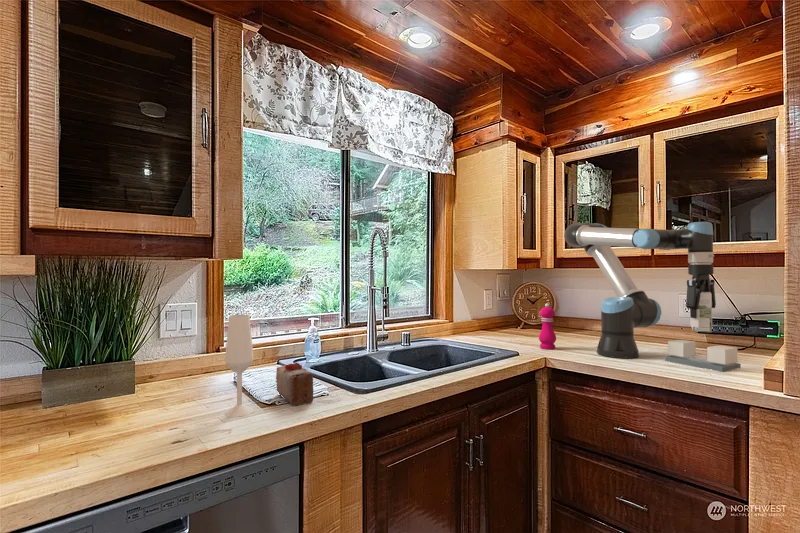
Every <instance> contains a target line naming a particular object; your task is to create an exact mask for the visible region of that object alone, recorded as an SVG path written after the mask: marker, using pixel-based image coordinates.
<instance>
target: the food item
mask: <svg viewBox="0 0 800 533" xmlns="http://www.w3.org/2000/svg"><path fill="white" fill-rule="evenodd" d="M302 365H303V363H299V362H295V363H289V364H284V365H281V366H278V367H276V373H275V374H276V376H275V383H276V392H277V391H278V392H279V394H280V395H282V396H283V397H284V398H285V399H284V398H283V399H284V400H285V401H286V402H288V403H290V404H291V405H292V406H293V407H294V406H295V407H297V406H302V405H306V404H307V405H308V404H312V403H313V401H314V374H313V373H311V372H309V371H307V368H303V366H302Z"/></svg>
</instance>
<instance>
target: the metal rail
mask: <svg viewBox="0 0 800 533" xmlns="http://www.w3.org/2000/svg"><path fill="white" fill-rule="evenodd" d="M670 356H674V357H679V358H685V359H690V360H696V361H701V362H707V363H712V364H718V365H723V366H731V365H735V363H736V362H735V363H730V364H720V363H715V362H709V361H707V356H702V355H701V356H700V355H692V356H686V357H681V356H675V355H670Z"/></svg>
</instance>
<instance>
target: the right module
mask: <svg viewBox="0 0 800 533" xmlns="http://www.w3.org/2000/svg"><path fill="white" fill-rule="evenodd" d="M706 350H707V351H706V353H707V354H706V357H707V361H709V362H715V363H720V364H730V363H739V362H738V359H739V358H738V357H739V356H738V347H734V346H728V345H720V344H719V345H714V346H708V347H707V349H706Z"/></svg>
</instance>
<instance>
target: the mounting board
mask: <svg viewBox="0 0 800 533" xmlns="http://www.w3.org/2000/svg"><path fill="white" fill-rule="evenodd" d="M664 358H665V359H664V362H669V361H670V362H671V363H674V362H675V364H680V365H686V366H691V367H695V368H700V369H705V368H706V369H707V370H710V369H712V371H716V370H717V372H723V373H724V372H727V371H728V372H729V371H731V370H732V369H733V370H736V369H737V368H738V369H741V363H739V362H735V365H731V366H723V365H718V364H712V363H707V362H701V361H696V360H690V359H685V358H679V357H674V356H671V355H669V356H665V357H664ZM738 369H737V370H738Z"/></svg>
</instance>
